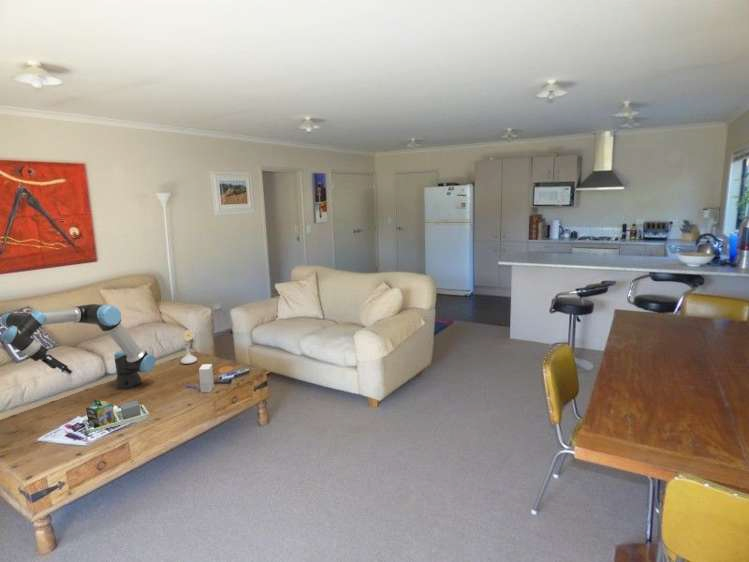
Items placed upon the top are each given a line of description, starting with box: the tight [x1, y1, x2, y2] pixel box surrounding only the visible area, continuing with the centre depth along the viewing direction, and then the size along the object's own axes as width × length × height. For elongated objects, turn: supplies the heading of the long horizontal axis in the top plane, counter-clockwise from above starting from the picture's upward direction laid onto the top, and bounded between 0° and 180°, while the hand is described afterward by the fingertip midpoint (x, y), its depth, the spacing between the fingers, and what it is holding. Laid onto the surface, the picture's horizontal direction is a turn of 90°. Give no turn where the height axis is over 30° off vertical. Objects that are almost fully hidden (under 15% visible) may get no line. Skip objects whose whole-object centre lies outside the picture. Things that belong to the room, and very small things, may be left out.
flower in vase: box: [180, 329, 198, 365], centre depth 333 cm, size 13×11×25 cm
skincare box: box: [198, 363, 215, 394], centre depth 285 cm, size 8×7×16 cm
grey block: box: [120, 400, 141, 420], centre depth 251 cm, size 8×8×7 cm
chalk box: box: [85, 398, 116, 428], centre depth 242 cm, size 9×9×15 cm
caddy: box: [83, 403, 150, 435], centre depth 248 cm, size 29×15×3 cm, turn 128°
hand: (71, 375), depth 237 cm, fingers open, 13 cm apart
